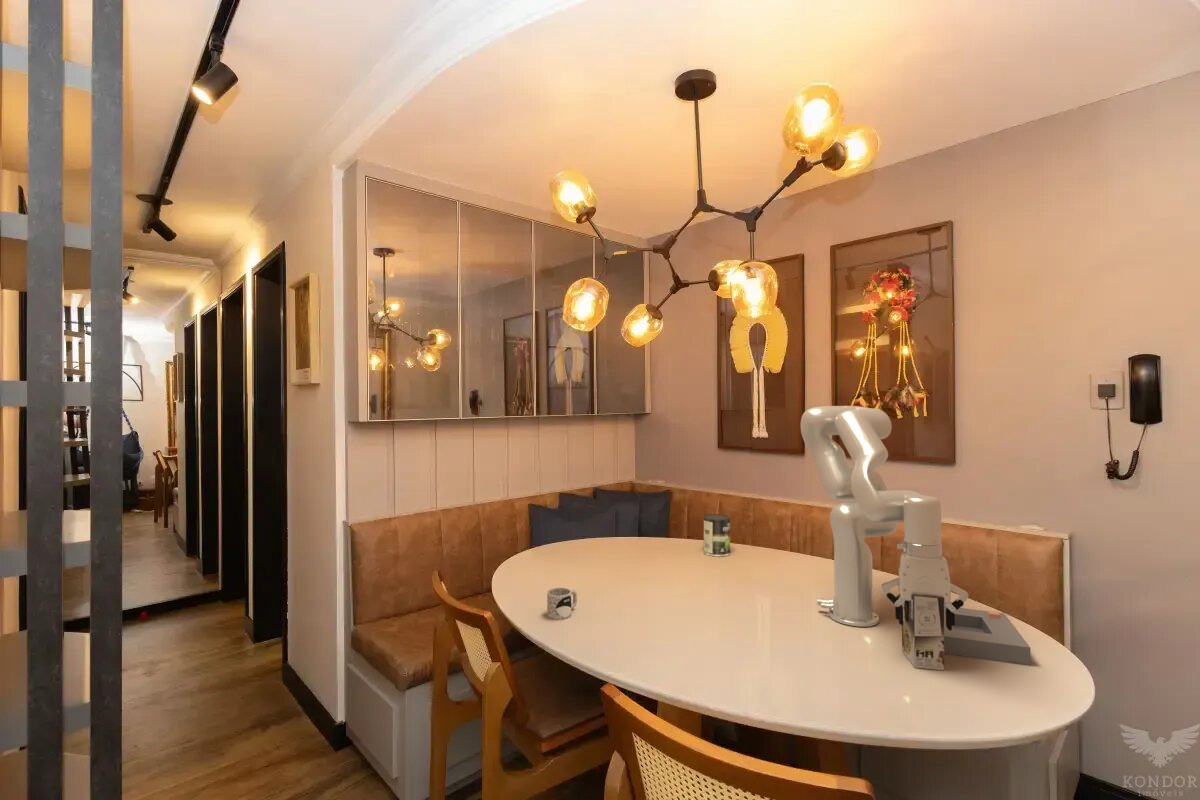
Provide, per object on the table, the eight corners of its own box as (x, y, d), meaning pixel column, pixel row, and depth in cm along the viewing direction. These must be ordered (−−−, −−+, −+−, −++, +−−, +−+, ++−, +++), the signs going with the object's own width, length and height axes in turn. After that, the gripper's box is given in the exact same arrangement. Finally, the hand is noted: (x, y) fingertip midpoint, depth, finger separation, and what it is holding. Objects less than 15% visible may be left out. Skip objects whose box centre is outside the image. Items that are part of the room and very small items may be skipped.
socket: (928, 650, 136) (928, 630, 136) (916, 617, 156) (916, 599, 156) (1030, 665, 128) (1030, 644, 128) (1004, 628, 149) (1003, 609, 149)
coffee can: (734, 551, 223) (734, 515, 222) (724, 558, 214) (724, 520, 214) (709, 548, 228) (709, 512, 228) (699, 554, 220) (698, 517, 219)
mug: (558, 622, 155) (558, 597, 155) (542, 616, 159) (542, 592, 159) (584, 611, 162) (584, 588, 162) (568, 606, 167) (568, 583, 167)
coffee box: (945, 671, 126) (945, 598, 126) (913, 668, 127) (913, 596, 127) (930, 652, 135) (930, 584, 135) (900, 650, 136) (900, 582, 136)
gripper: (882, 550, 131) (883, 626, 130) (970, 557, 124) (972, 636, 124) (879, 543, 138) (881, 615, 137) (963, 549, 131) (965, 624, 131)
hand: (924, 625), depth 131 cm, fingers open, 9 cm apart
